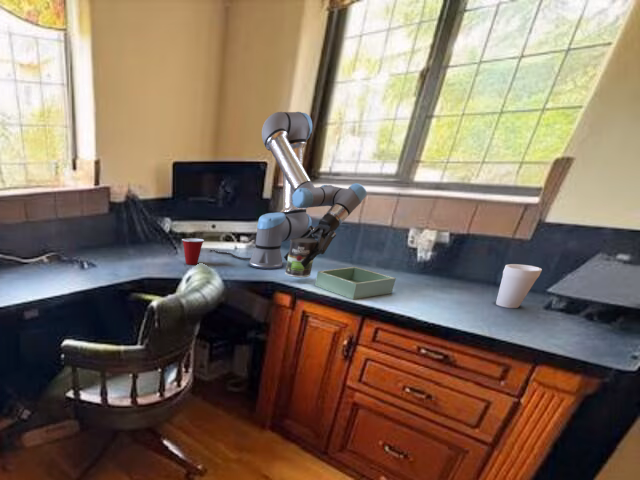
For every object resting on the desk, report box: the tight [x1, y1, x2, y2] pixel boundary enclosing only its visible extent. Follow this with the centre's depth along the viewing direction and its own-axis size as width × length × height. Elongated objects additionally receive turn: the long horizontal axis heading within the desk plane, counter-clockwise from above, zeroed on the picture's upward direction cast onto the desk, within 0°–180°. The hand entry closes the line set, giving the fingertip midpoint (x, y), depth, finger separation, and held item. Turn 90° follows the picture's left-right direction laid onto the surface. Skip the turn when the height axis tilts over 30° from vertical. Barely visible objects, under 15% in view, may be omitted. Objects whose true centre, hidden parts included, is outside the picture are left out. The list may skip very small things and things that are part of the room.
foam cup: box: [495, 263, 543, 309], centre depth 143 cm, size 10×9×13 cm
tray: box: [314, 266, 397, 300], centre depth 165 cm, size 20×19×6 cm
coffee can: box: [284, 238, 318, 278], centre depth 174 cm, size 10×10×14 cm
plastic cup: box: [181, 237, 205, 266], centre depth 208 cm, size 11×11×12 cm
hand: (294, 262), depth 174 cm, fingers closed on coffee can, 10 cm apart
